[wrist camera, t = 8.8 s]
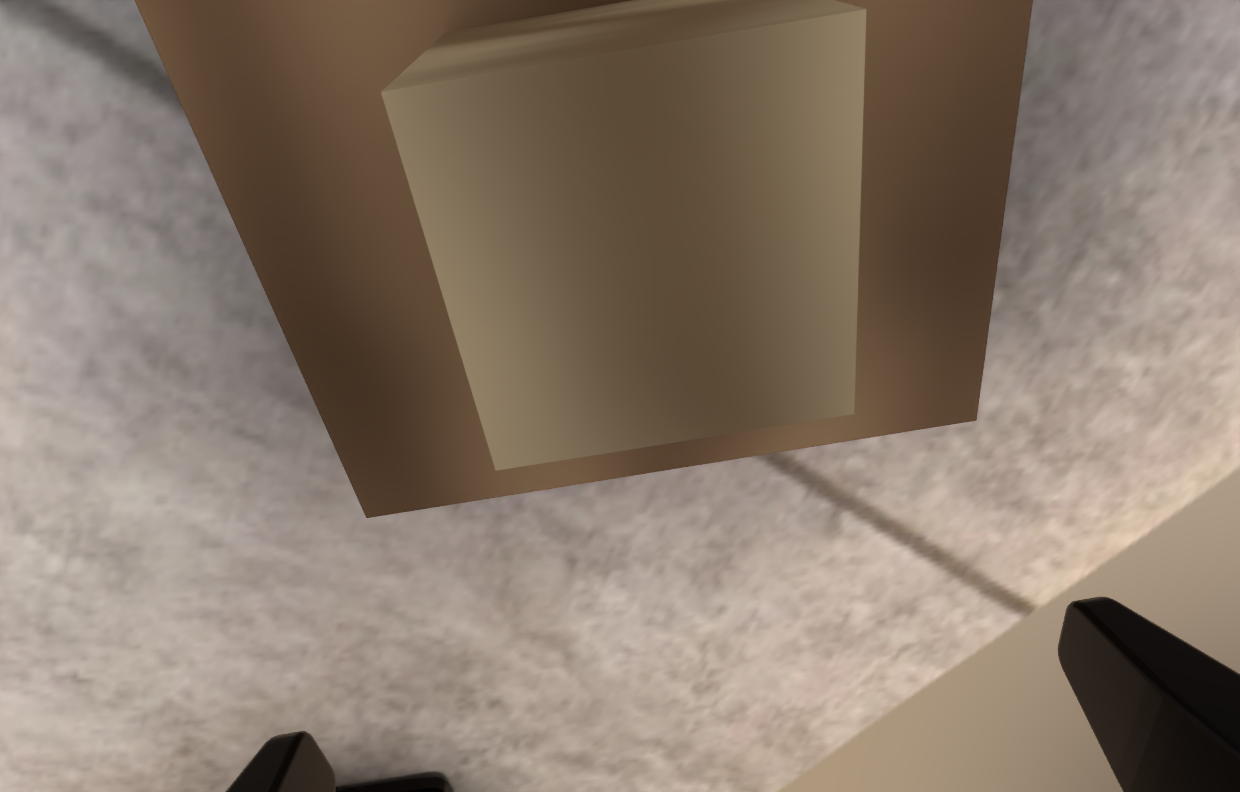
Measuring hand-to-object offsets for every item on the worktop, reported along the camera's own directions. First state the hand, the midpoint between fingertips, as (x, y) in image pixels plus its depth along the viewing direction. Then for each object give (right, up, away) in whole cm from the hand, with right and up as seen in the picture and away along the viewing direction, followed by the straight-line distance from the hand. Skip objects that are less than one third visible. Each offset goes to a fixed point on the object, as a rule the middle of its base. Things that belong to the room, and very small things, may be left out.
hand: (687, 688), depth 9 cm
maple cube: (-1, +8, +4) cm, 9 cm away
